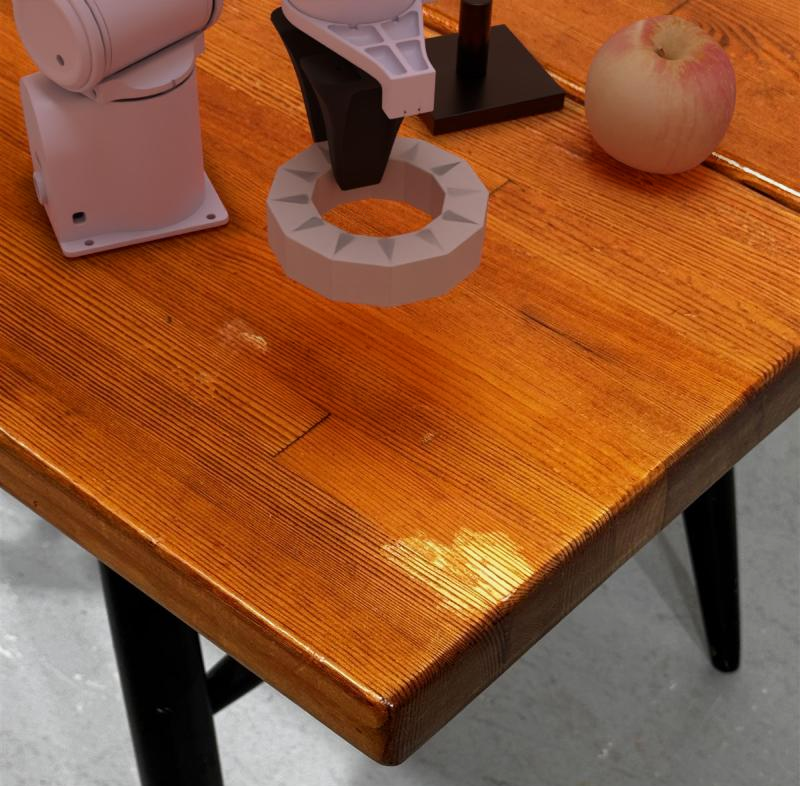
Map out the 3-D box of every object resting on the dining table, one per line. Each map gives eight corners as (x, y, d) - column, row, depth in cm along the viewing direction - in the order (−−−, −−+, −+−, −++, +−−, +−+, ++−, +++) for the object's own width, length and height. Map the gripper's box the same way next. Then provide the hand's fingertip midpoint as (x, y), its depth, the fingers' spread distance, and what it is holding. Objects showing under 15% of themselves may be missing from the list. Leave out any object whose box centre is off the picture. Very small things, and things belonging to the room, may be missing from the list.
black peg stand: (433, 136, 90) (438, 45, 85) (379, 62, 95) (381, -26, 91) (563, 109, 92) (575, 19, 88) (503, 39, 98) (511, -49, 93)
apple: (655, 102, 93) (676, -15, 87) (751, 171, 88) (780, 52, 82) (547, 142, 90) (562, 23, 84) (640, 216, 85) (662, 95, 79)
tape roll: (312, 326, 64) (312, 283, 62) (243, 198, 70) (241, 156, 69) (517, 279, 67) (522, 236, 65) (434, 160, 73) (436, 118, 72)
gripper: (513, -43, 57) (486, 237, 67) (378, -190, 66) (372, 76, 76) (343, -15, 55) (341, 270, 65) (228, -171, 64) (242, 100, 74)
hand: (348, 167), depth 70 cm, fingers closed on tape roll, 2 cm apart
